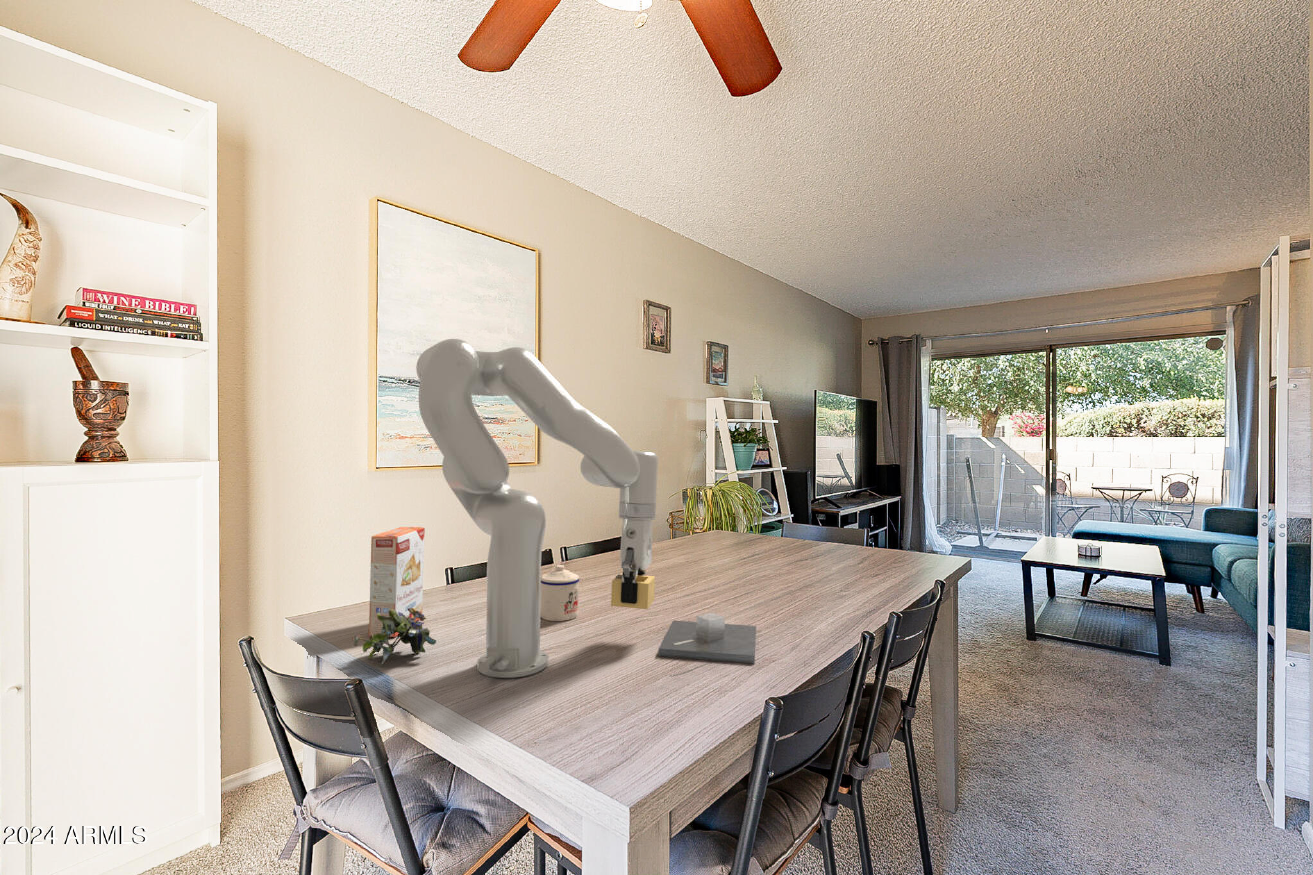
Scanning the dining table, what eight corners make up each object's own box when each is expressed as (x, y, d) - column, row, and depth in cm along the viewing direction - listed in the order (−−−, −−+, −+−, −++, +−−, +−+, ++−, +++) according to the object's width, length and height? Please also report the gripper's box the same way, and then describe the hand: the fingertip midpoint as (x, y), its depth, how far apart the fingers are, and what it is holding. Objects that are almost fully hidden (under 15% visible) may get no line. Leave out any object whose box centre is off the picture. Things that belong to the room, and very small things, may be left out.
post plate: (754, 663, 111) (754, 633, 111) (658, 656, 114) (659, 627, 114) (755, 632, 129) (756, 607, 129) (672, 627, 132) (673, 602, 132)
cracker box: (396, 638, 122) (398, 536, 122) (367, 638, 122) (368, 535, 122) (424, 618, 136) (425, 526, 136) (398, 617, 136) (399, 525, 136)
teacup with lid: (571, 623, 134) (571, 571, 134) (532, 620, 136) (533, 568, 136) (588, 608, 146) (588, 560, 146) (552, 606, 147) (553, 558, 147)
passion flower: (414, 682, 114) (451, 632, 113) (371, 694, 104) (411, 639, 103) (381, 641, 118) (416, 593, 118) (336, 648, 108) (374, 596, 108)
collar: (647, 609, 118) (648, 582, 118) (610, 605, 120) (612, 579, 120) (654, 600, 126) (655, 574, 126) (619, 597, 127) (620, 572, 127)
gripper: (647, 516, 114) (642, 610, 113) (662, 508, 131) (658, 590, 130) (608, 514, 115) (604, 607, 115) (628, 506, 132) (625, 587, 132)
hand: (633, 597), depth 123 cm, fingers closed on collar, 7 cm apart
